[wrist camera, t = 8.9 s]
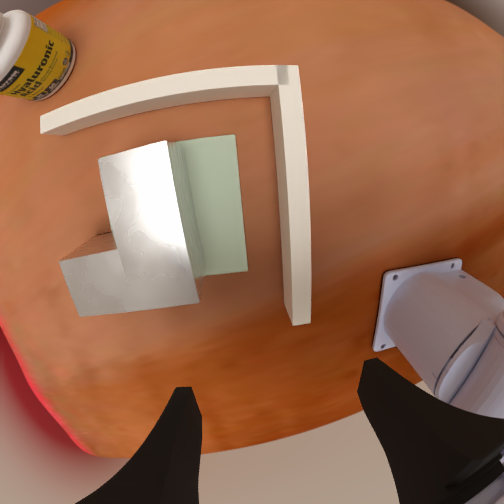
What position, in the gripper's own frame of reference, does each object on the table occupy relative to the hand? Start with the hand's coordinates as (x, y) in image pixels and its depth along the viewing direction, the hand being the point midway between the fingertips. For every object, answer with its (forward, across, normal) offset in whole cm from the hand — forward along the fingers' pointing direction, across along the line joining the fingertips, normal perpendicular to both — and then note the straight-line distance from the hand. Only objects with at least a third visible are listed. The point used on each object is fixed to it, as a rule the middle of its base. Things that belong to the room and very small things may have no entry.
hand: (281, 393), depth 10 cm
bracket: (+10, +7, -6) cm, 13 cm away
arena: (+10, +5, -6) cm, 13 cm away
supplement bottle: (+10, +14, -19) cm, 26 cm away
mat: (+10, +5, -6) cm, 13 cm away
